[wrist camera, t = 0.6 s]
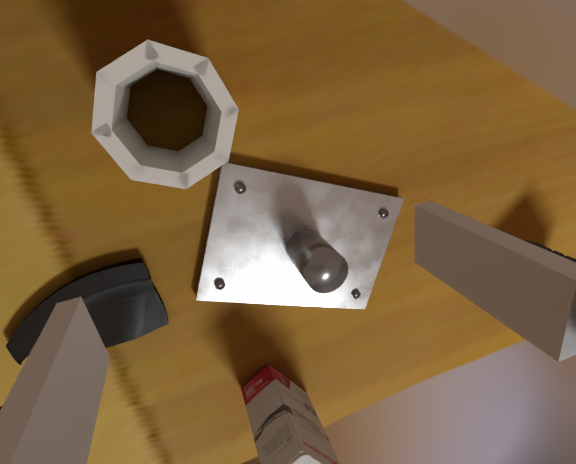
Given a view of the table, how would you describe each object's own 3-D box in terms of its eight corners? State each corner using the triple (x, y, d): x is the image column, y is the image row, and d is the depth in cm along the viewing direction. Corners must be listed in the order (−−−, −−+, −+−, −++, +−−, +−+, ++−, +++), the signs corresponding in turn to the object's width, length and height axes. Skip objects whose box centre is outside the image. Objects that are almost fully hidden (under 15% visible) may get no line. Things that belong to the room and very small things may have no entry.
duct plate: (195, 295, 36) (201, 337, 30) (221, 160, 32) (234, 176, 26) (360, 304, 43) (392, 340, 37) (398, 196, 39) (442, 216, 33)
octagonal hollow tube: (109, 150, 29) (87, 173, 21) (119, 44, 26) (99, 24, 19) (208, 169, 32) (222, 195, 24) (225, 75, 29) (247, 69, 21)
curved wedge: (-17, 297, 30) (-26, 308, 29) (144, 251, 33) (143, 258, 32) (30, 367, 34) (24, 380, 32) (171, 320, 37) (172, 330, 35)
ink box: (238, 388, 42) (261, 486, 32) (269, 361, 42) (302, 450, 32) (281, 418, 46) (314, 513, 36) (309, 393, 46) (350, 482, 36)
